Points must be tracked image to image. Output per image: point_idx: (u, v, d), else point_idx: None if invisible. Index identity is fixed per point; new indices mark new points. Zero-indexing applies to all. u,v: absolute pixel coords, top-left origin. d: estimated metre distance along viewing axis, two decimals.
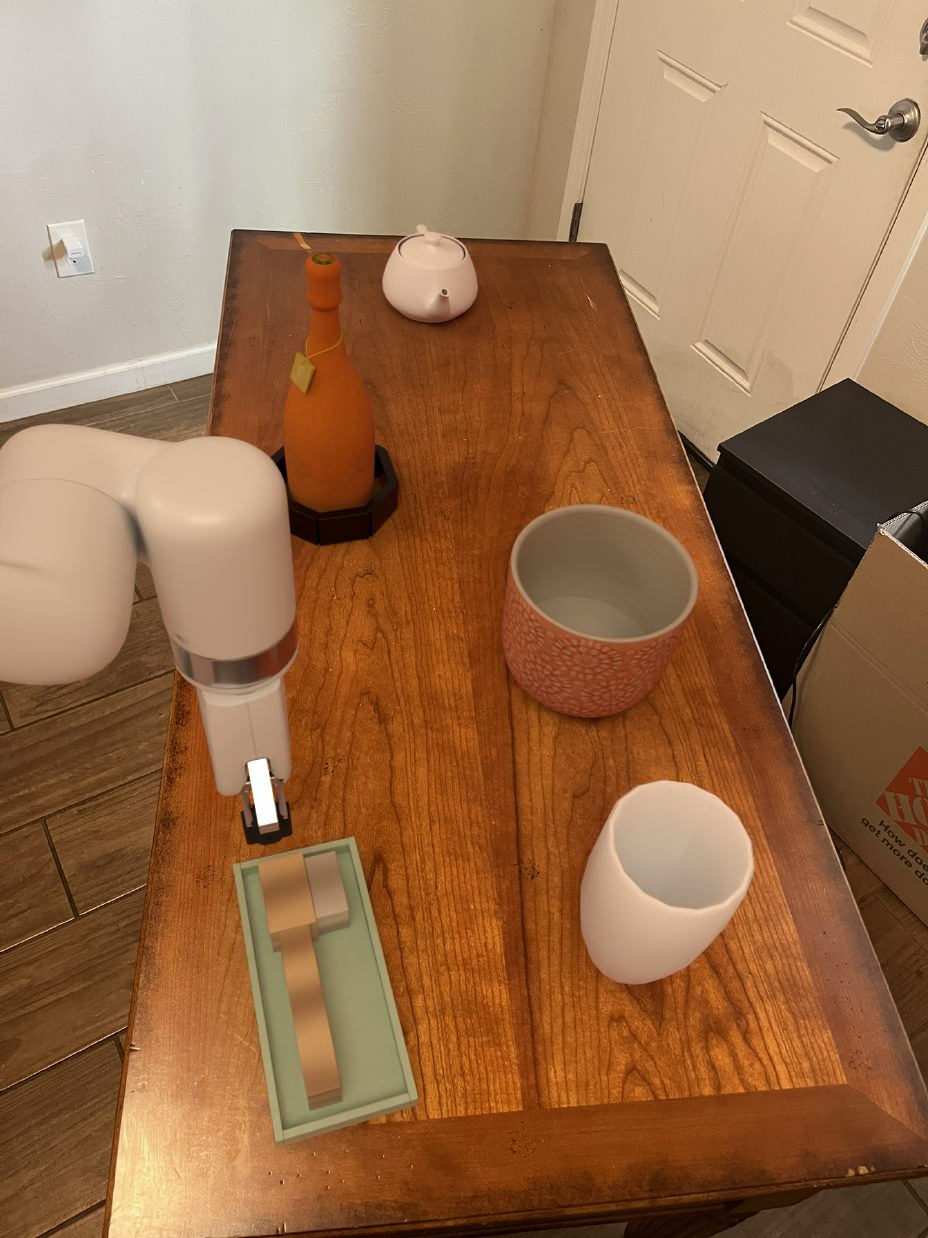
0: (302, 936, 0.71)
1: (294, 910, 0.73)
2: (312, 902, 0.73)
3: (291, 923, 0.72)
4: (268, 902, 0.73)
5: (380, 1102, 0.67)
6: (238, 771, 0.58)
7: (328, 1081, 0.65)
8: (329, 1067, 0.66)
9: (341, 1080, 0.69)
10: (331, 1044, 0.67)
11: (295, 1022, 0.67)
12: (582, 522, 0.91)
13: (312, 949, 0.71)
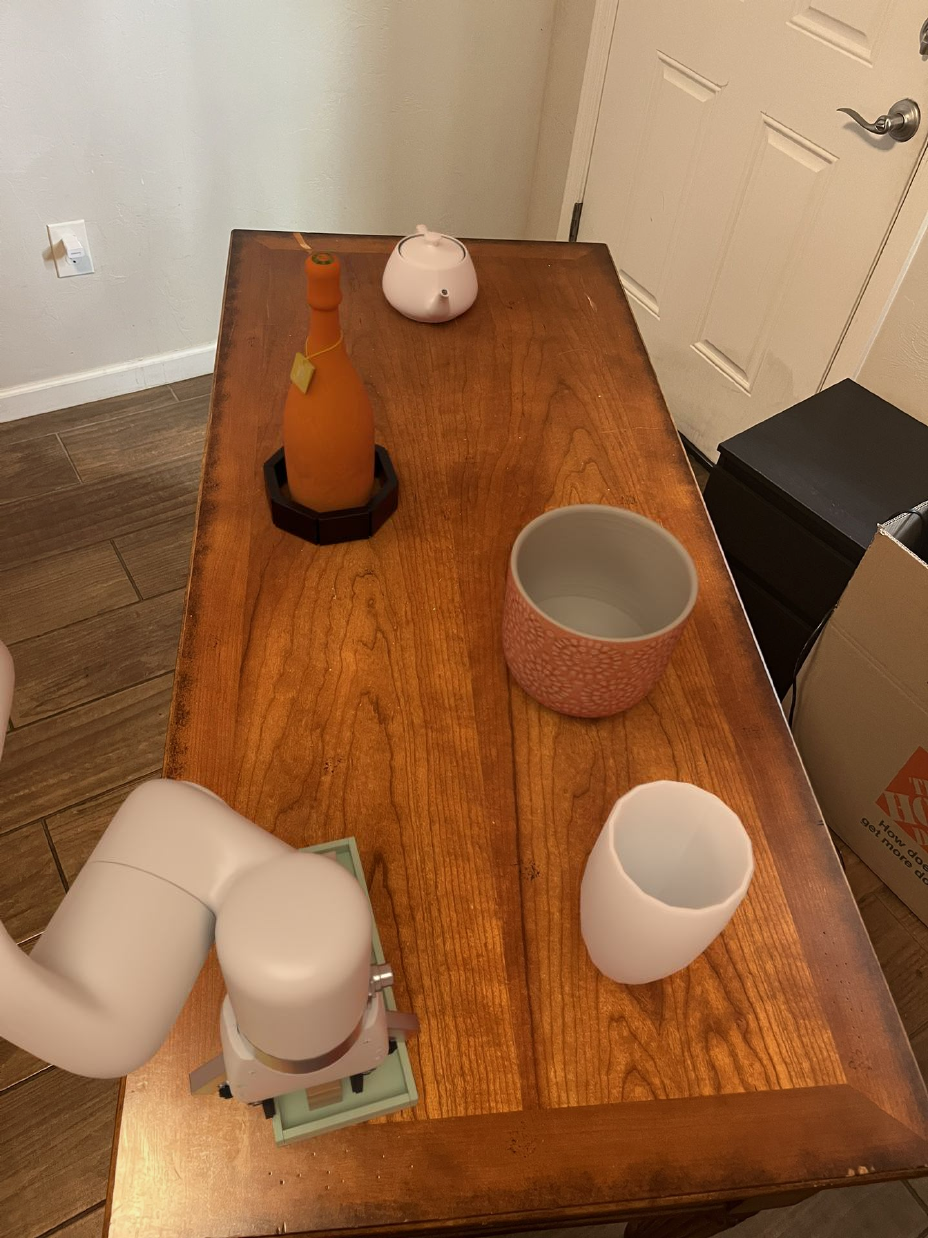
0: None
1: None
2: None
3: None
4: None
5: (380, 1102, 0.67)
6: None
7: None
8: None
9: (341, 1080, 0.69)
10: None
11: None
12: (582, 522, 0.91)
13: None
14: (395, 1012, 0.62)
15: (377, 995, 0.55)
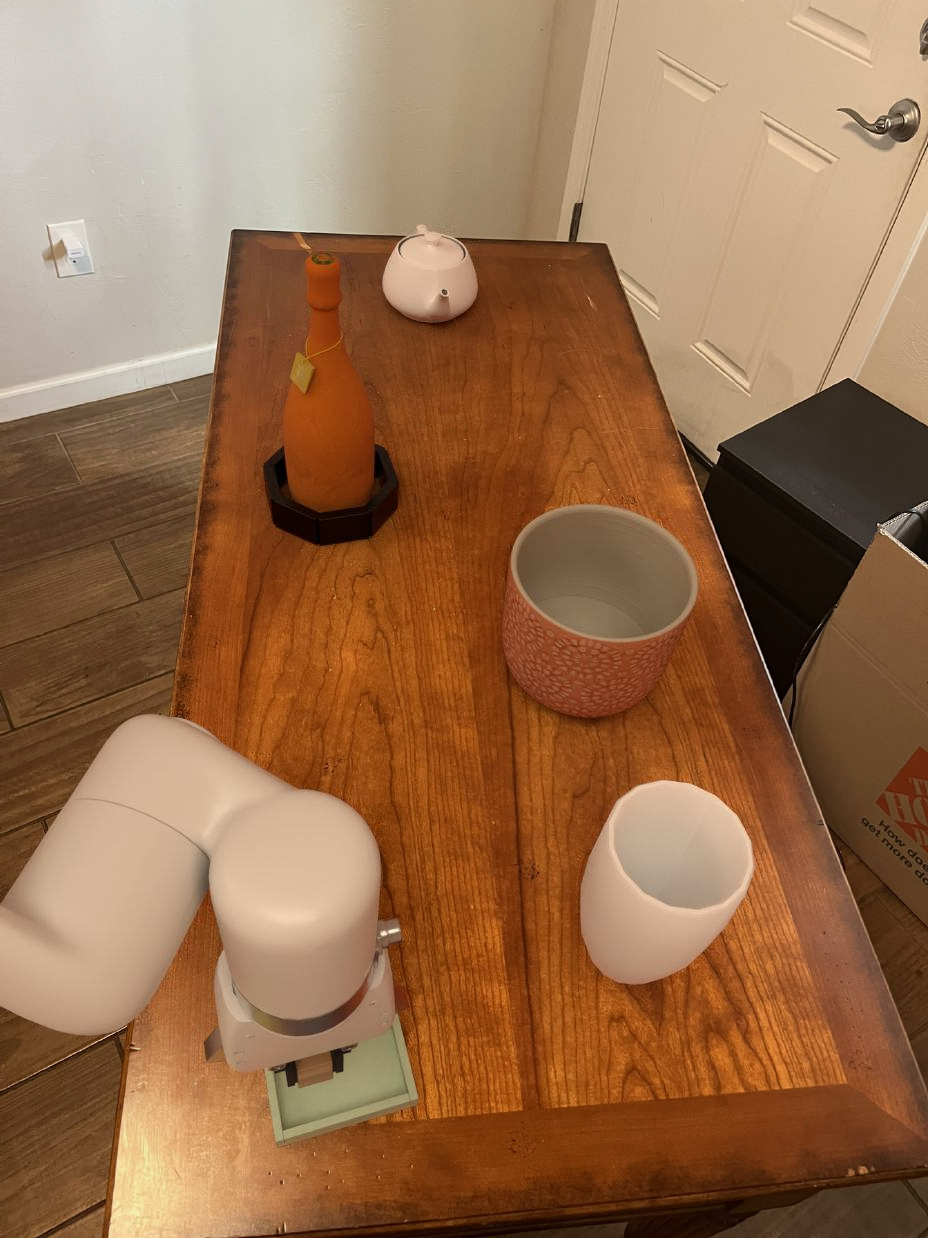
0: None
1: None
2: None
3: None
4: None
5: (380, 1102, 0.67)
6: None
7: (319, 1056, 0.61)
8: None
9: (341, 1080, 0.69)
10: None
11: None
12: (582, 522, 0.91)
13: None
14: None
15: (384, 953, 0.52)
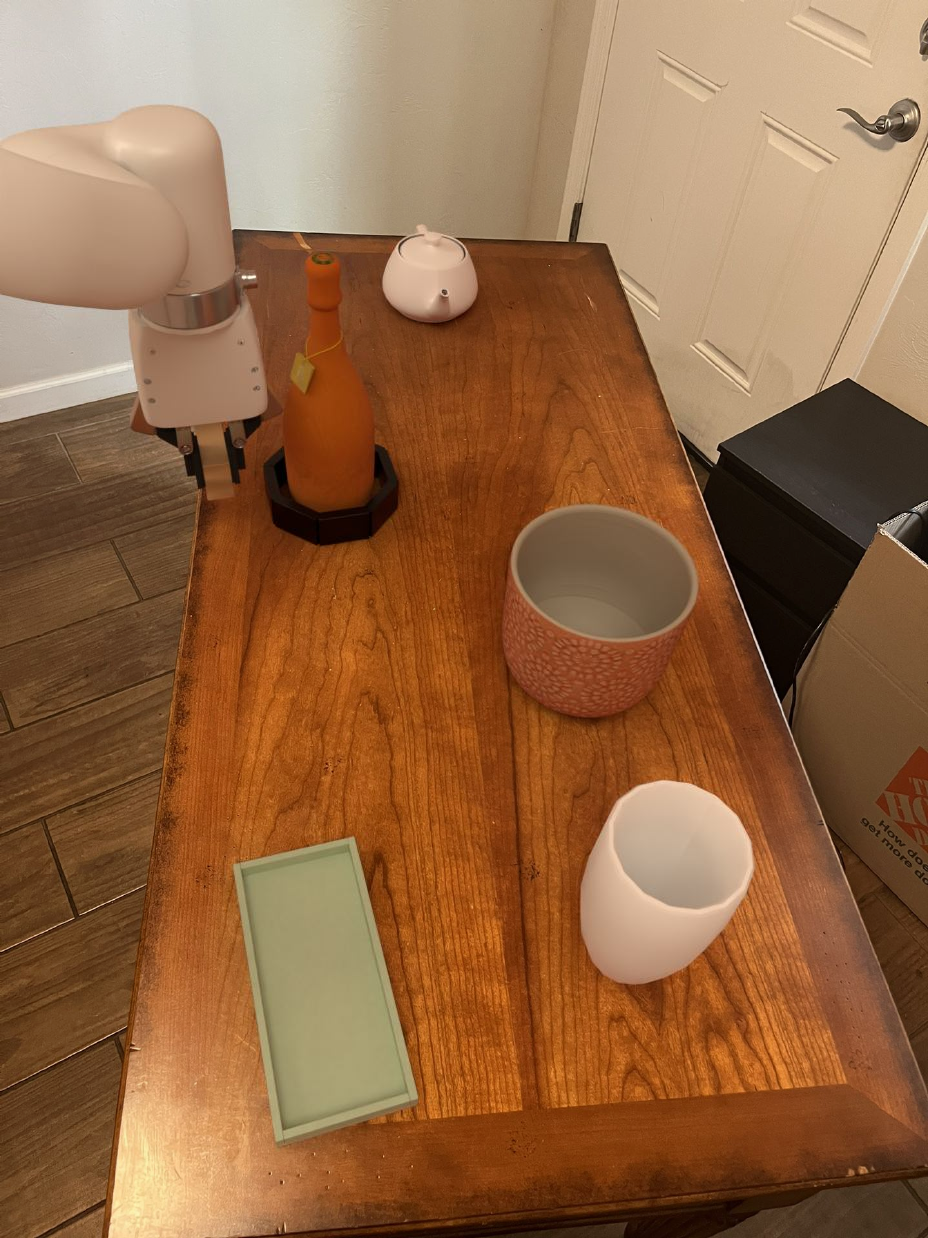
0: None
1: None
2: None
3: None
4: None
5: (380, 1102, 0.67)
6: None
7: (220, 459, 0.82)
8: (221, 453, 0.83)
9: (341, 1080, 0.69)
10: (224, 441, 0.84)
11: (196, 430, 0.85)
12: (582, 522, 0.91)
13: None
14: None
15: (248, 305, 0.73)
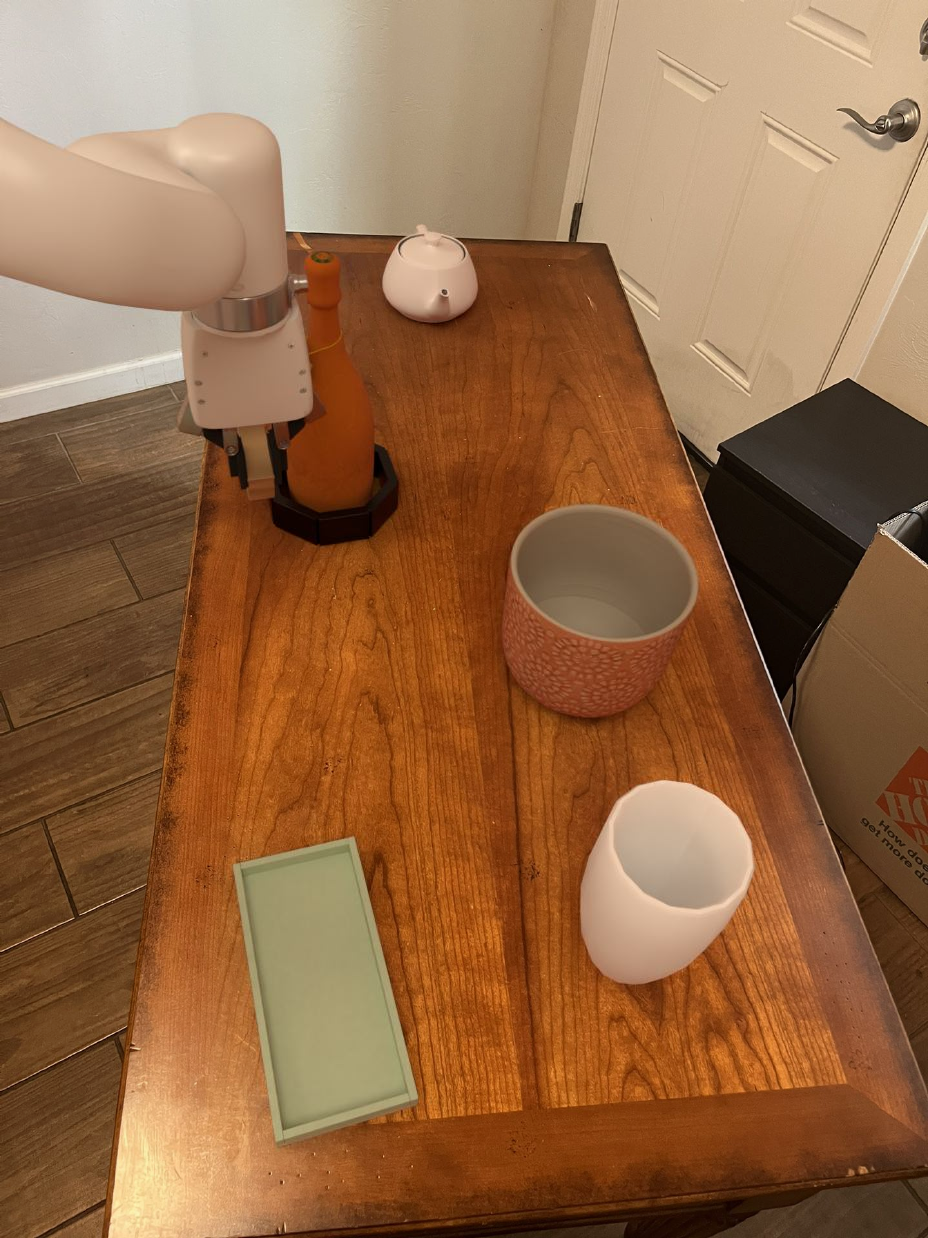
0: None
1: None
2: None
3: None
4: None
5: (380, 1102, 0.67)
6: (184, 374, 0.77)
7: (264, 472, 0.84)
8: (265, 463, 0.85)
9: (341, 1080, 0.69)
10: (267, 448, 0.85)
11: (239, 431, 0.85)
12: (582, 522, 0.91)
13: None
14: None
15: (298, 309, 0.74)
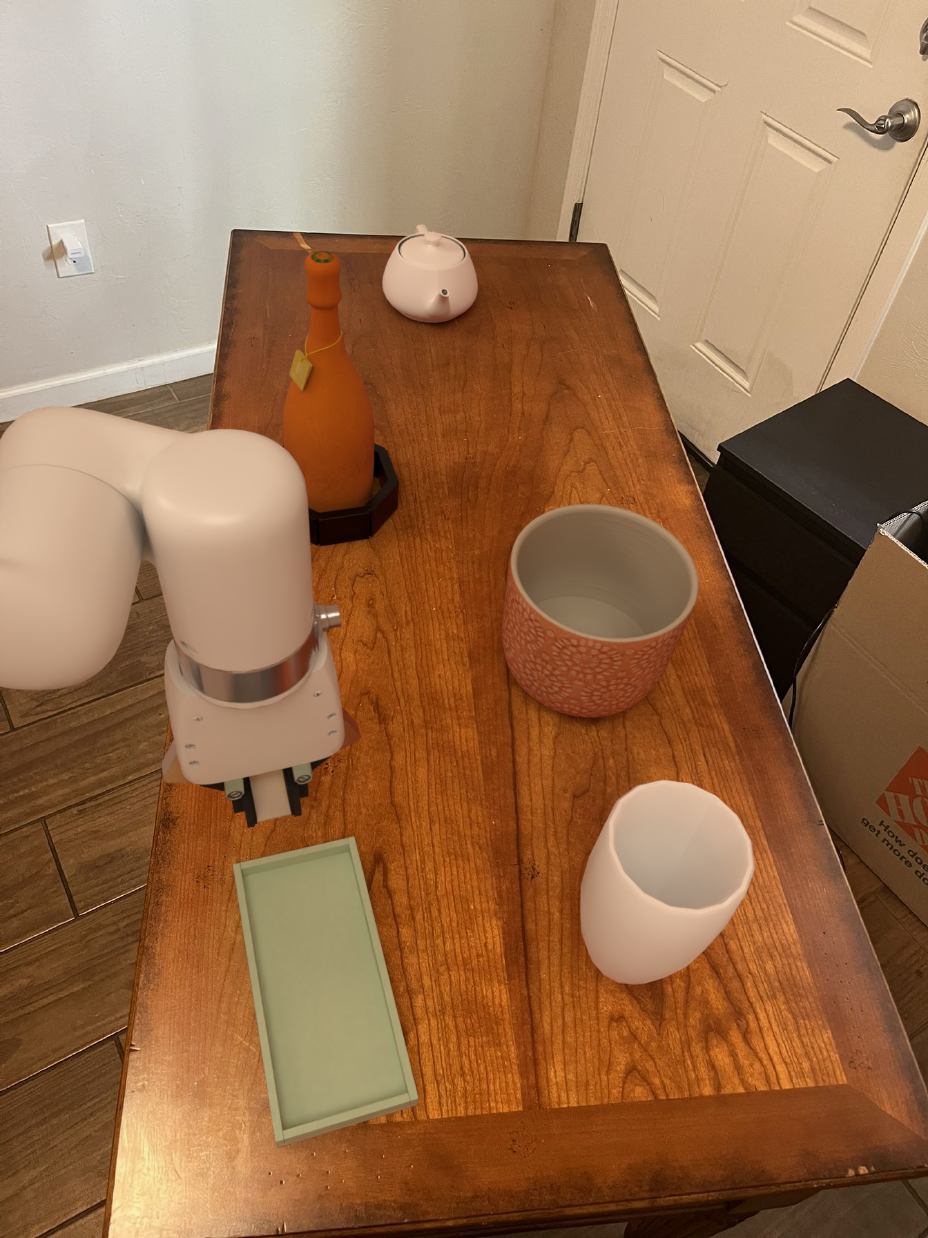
0: None
1: None
2: None
3: None
4: None
5: (380, 1102, 0.67)
6: None
7: (279, 809, 0.64)
8: (280, 795, 0.65)
9: (341, 1080, 0.69)
10: (282, 772, 0.65)
11: None
12: (582, 522, 0.91)
13: None
14: (341, 707, 0.60)
15: (326, 645, 0.54)
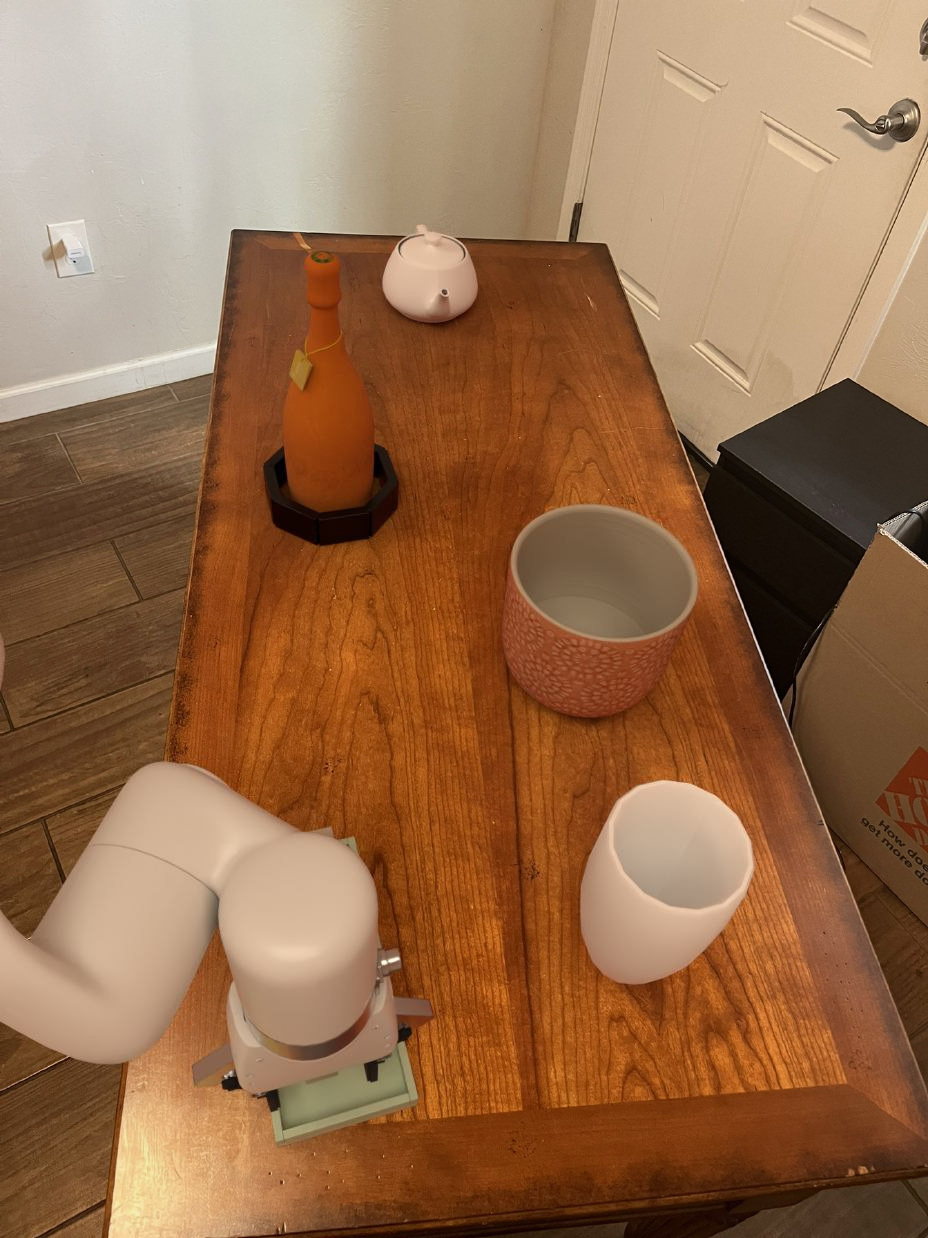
0: None
1: None
2: None
3: None
4: None
5: (380, 1102, 0.67)
6: None
7: None
8: None
9: (341, 1080, 0.69)
10: None
11: None
12: (582, 522, 0.91)
13: None
14: (406, 998, 0.61)
15: (385, 980, 0.55)
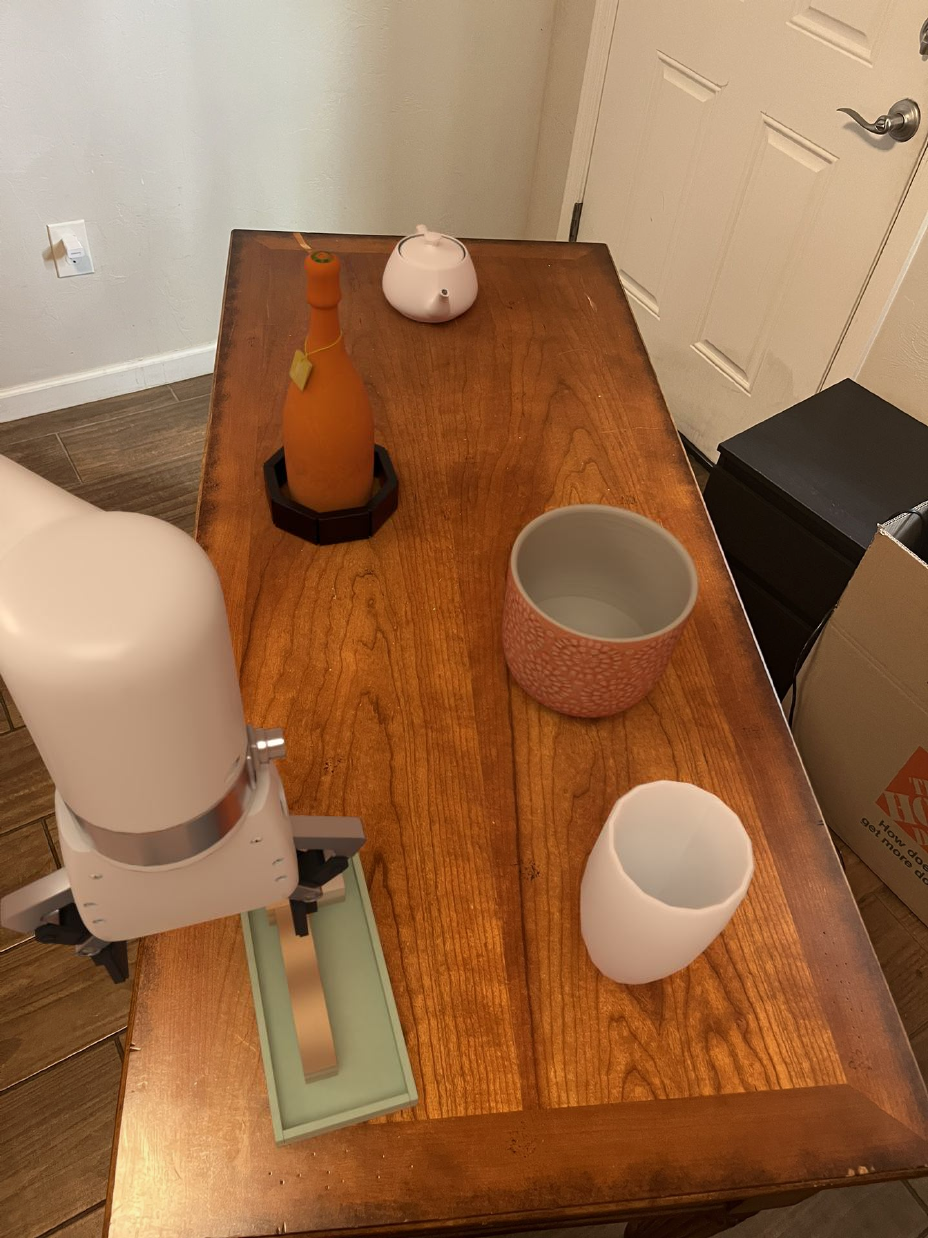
0: None
1: None
2: None
3: (288, 900, 0.72)
4: None
5: (380, 1102, 0.67)
6: None
7: (325, 1059, 0.66)
8: (326, 1045, 0.66)
9: (341, 1080, 0.69)
10: (328, 1022, 0.67)
11: (292, 1000, 0.68)
12: (582, 522, 0.91)
13: (309, 926, 0.71)
14: (317, 817, 0.47)
15: (268, 777, 0.41)
